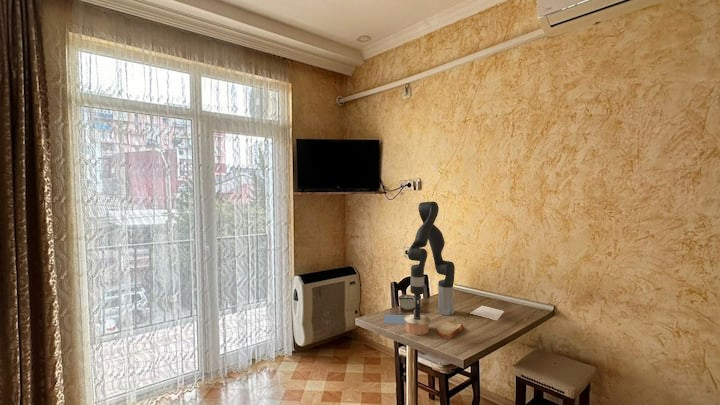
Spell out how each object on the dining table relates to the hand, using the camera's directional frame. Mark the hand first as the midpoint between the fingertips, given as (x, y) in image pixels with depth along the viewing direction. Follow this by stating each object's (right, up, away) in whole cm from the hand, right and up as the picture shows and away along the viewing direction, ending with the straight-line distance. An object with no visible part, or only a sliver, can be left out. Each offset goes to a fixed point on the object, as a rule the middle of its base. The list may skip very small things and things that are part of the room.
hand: (417, 314), depth 179 cm
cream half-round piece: (0, -9, +32) cm, 34 cm away
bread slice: (+19, -10, 0) cm, 21 cm away
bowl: (0, -9, 0) cm, 9 cm away
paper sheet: (+55, -10, +26) cm, 62 cm away
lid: (0, -3, 0) cm, 3 cm away
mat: (-9, -9, +16) cm, 21 cm away
